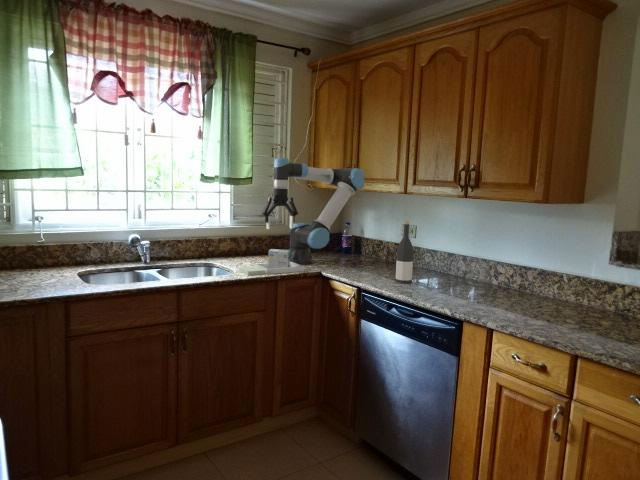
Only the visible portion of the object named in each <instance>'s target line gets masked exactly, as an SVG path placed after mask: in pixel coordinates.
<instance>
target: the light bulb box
mask: <svg viewBox="0 0 640 480" xmlns="http://www.w3.org/2000/svg"><path fill="white" fill-rule="evenodd" d="M268 263H269V264H268V268H267V269H272V268H285V267H290V249H275V248H270V249H269V250H268Z"/></svg>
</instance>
